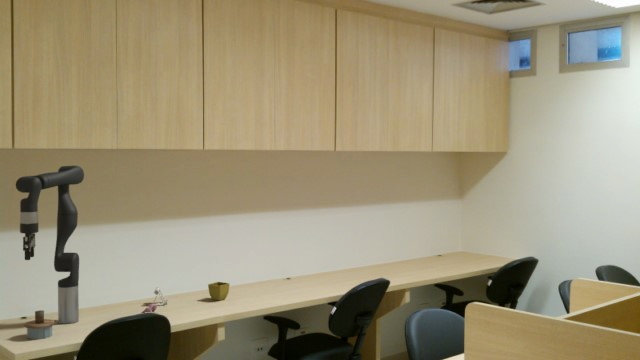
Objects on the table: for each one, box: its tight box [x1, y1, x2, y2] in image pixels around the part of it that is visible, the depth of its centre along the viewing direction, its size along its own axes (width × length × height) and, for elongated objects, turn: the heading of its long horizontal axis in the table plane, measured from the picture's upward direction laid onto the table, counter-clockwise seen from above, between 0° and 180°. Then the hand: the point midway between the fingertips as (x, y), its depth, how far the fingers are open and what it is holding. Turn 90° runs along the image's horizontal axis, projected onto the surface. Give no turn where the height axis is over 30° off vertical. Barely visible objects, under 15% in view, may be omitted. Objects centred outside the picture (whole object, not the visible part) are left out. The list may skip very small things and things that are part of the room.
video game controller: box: [141, 303, 158, 313], centre depth 328 cm, size 10×5×7 cm, turn 171°
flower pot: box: [207, 281, 230, 301], centre depth 366 cm, size 9×9×9 cm
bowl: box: [26, 325, 53, 340], centre depth 290 cm, size 10×10×5 cm
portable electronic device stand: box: [152, 287, 169, 306], centre depth 355 cm, size 9×8×8 cm
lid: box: [24, 310, 55, 329], centre depth 290 cm, size 12×12×6 cm
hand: (29, 258), depth 291 cm, fingers open, 8 cm apart
